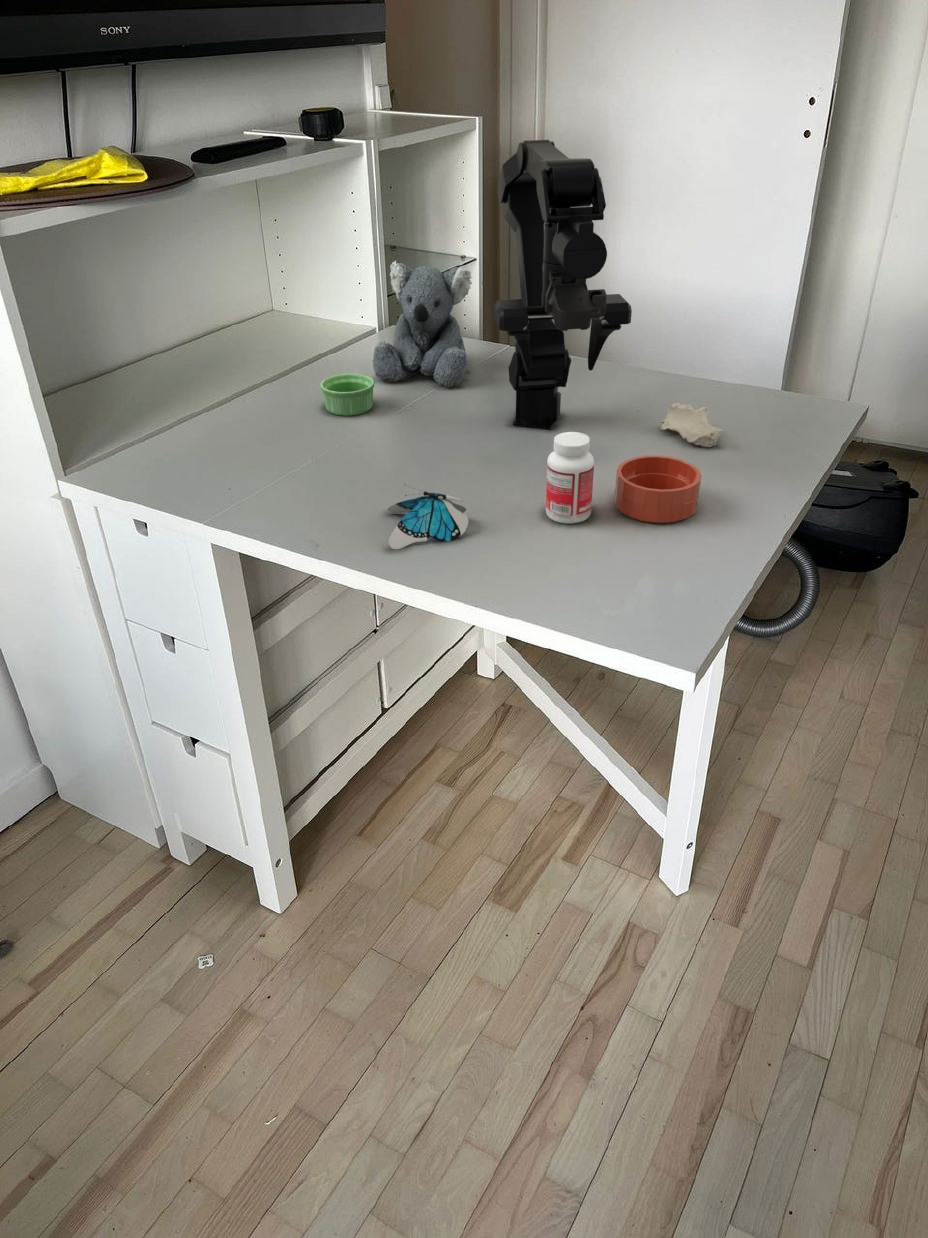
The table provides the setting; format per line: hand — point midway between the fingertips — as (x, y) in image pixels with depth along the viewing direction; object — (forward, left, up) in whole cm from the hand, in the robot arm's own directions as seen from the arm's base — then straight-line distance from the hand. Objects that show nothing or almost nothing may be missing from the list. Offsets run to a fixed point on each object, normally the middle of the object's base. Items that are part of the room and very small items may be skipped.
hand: (559, 371), depth 139 cm
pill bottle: (+6, -19, -13) cm, 24 cm away
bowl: (+17, -13, -13) cm, 25 cm away
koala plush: (-31, +30, -13) cm, 45 cm away
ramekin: (-38, +9, -13) cm, 41 cm away
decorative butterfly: (-11, -28, -13) cm, 33 cm away
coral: (+19, +12, -13) cm, 26 cm away
